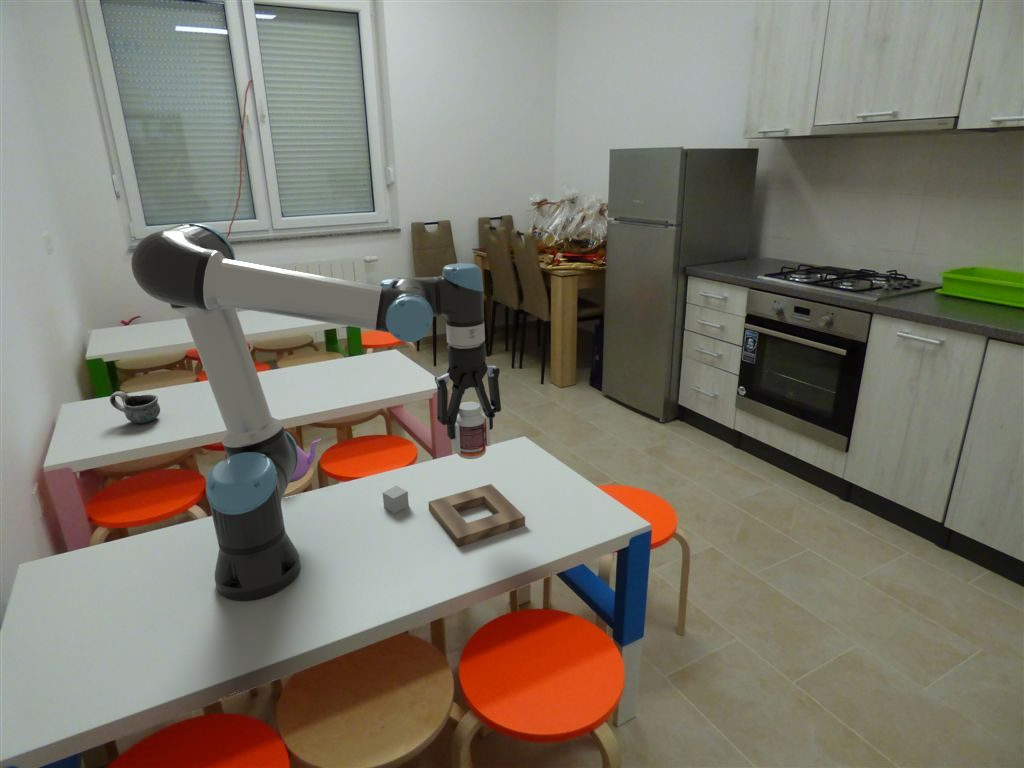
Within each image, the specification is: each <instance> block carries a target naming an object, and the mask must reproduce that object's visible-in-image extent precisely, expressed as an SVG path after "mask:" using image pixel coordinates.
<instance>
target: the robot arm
mask: <svg viewBox="0 0 1024 768" xmlns="http://www.w3.org/2000/svg"><path fill="white" fill-rule="evenodd" d="M130 266H131V270H132V271H131V272H132V274H133V277H134V279H135V281H136V283H137V284H138V286H139V287H140V288H141V289H142V290H143V291H144V292H145V293H146V294H147V295H149V297H152V298H154V299H155V300H158V301H159V302H163V303H167V304H169V305H170V307H171V309H172V310H173V311H175V312H177V313H179V314H181V315H182V316H184V318H185V321H186V324H187V326H188V329H189V332H190V334H191V335H190V336H191V337H192V340H193V343H194V346H195V348H196V350H197V353H198V357H199V359H200V362H201V364H202V367H203V369H204V373H205V375H206V377H207V380H208V382H209V386H210V388H211V391H212V394H213V396H214V398H215V402H216V404H217V406H218V407H217V408H218V409H219V412H220V416H221V419H222V421H223V423H224V426H225V429H226V432H225V434H224V435H223V438H222V440H221V442H222V443H221V444H222V445H223V446H222V447H223V448H224V452H225V454H226V456H227V457H226V459H225V460H220V461H219V462H217V463H216V464H214V465H213V467H212V468H211V469H210V470H209V472H208V473H207V477H206V484H205V485H206V498H207V500H208V503H209V508H210V512H211V516H212V520H213V526H214V529H215V535H216V539H217V544H218V553H217V559H216V565H215V570H214V582H215V586H216V589H217V591H218V593H219V594H220V595H222V596H223V597H224V598H227V599H230V600H234V601H253V600H259V599H262V598H266V597H269V596H271V595H273V594H276V593H278V592H280V591H282V590H283V589H285V588H286V587H288V586H289V585H290V584H291V583H293V582H294V580H295V579H296V578H297V576H298V574H299V573H300V570H301V559H300V555H299V552H298V549H297V548H296V547H295V545H294V543H293V541H292V540H291V538H290V537H289V535H288V534H287V533H288V532H287V531H286V527H285V521H284V515H283V514H284V513H283V509H282V501H283V498H284V495H285V493H286V491H287V488H288V486H289V484H290V483H289V482H290V479H291V477H292V475H293V473H294V471H295V469H296V466H297V462H298V461H297V459H298V448H297V446H298V445H297V442H296V440H295V439H294V437H293V435H291V433H289V432H288V431H286V430H285V427H284V424H283V422H282V421H281V420H280V419H278V418H275V417H273V416H272V414H271V410H270V408H269V404H268V402H267V399H266V395H265V393H264V389H263V387H262V383H261V382H260V378H259V375H258V372H257V369H256V366H255V363H254V360H253V357H252V354H251V351H250V348H249V344H248V341H247V339H246V336H245V333H244V330H243V327H242V325H241V322H240V319H239V315H238V312H237V309H240V310H246V311H252V312H258V313H263V314H271V315H277V316H284V317H291V318H296V319H304V320H309V321H316V322H322V323H328V324H334V325H340V326H347V327H353V328H358V329H364V330H372V331H377V332H383V333H389V334H390V335H391V336H392V337H394V338H395V339H397V340H398V341H400V342H404V343H413V342H417V341H419V340H421V339H423V338H424V337H425V336H426V335H427V334H428V333H429V331H430V329H431V327H432V324H433V320H434V317H441V316H445V327H446V328H445V330H446V343H447V344H448V345H447V346H446V347H447V348H446V349H447V361H448V363H447V364H448V369H447V370H446V373H445V374H443V375H441V376H439V375H435V377H434V381H435V385H436V387H437V389H436V390H437V392H436V393H437V394H436V395H437V398H436V399H437V400H436V401H437V402H436V405H437V406H436V407H437V408H436V415H437V417H436V419H437V421H438V422H439V423H440V424H441V425H443V426H446V434H447V437H448V439H450V440H451V450H453V452H454V453H456V454H457V455H458V454H461V448H460V430H459V425H458V424H457V423H456V419H457V415H458V414H459V413H458V411H459V407H460V404H461V403H462V399H463V395H465V392H466V390H468V389H470V388H473V389H474V390H475V393H476V396H477V398H478V401H479V402H480V403H479V404H480V407H481V409H482V411H483V413H482V414H483V416H484V418H485V439H486V448H487V447H490V446H491V432H490V431H491V430H493V429H494V418H495V417H496V413H500V412H501V411H502V406H501V404H502V403H501V397H500V396H501V394H500V385H499V377H500V372H501V369H500V368H499V367H497V366H496V365H494V364H490V365H487V363H486V355H487V354H486V343H484V342H485V340H486V334H485V333H486V332H485V310H484V309H485V306H484V305H485V304H484V301H485V300H484V290H485V289H484V283H483V282H484V281H483V272H482V269H481V268H480V266H478V265H477V264H474V263H467V262H460V263H450V264H447V265H444V266H443V268H442V273H441V275H438V276H428V277H425V276H424V277H423V276H421V277H396V278H389V279H388V278H387V279H383V280H382V281H381V282H380V284H379V285H375V284H370V283H364V282H359V281H354V280H347V279H343V278H336V277H331V276H330V277H329V276H324V275H319V274H314V273H307V272H302V271H296V270H293V269H292V270H290V269H287V268H286V269H285V268H279V267H274V266H268V265H263V264H256V263H252V262H245V261H240V260H236V254H235V250H234V248H233V246H232V244H231V243H230V240H228V239H227V237H226V236H225V235H224V234H222V233H221V232H220V231H218V230H217V229H216V228H214V227H212V226H209V225H207V224H202V223H201V224H200V223H181V224H178V225H174V226H172V227H170V228H166V229H164V230H159V231H156V232H153V233H151V234H149V235H147V236H145V237H144V238H143V239H141V240H140V241H139V243H137V245H136V247H135V248H134V250H133V253H132V256H131V265H130ZM485 375H486V376H487V382H488V393H489V394H487V392H486V390H485V389H486V388H485V387H486V386H485V385H484V383H483V382H484V381H483V379H484V377H485ZM449 381H452V386H451V394H450V400H449V404H448V399H449V398H448V395H449V393H448V386H449ZM488 395H489V397H488Z"/></svg>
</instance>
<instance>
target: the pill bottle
mask: <svg viewBox="0 0 1024 768" xmlns="http://www.w3.org/2000/svg"><path fill="white" fill-rule="evenodd" d="M481 409H482V407H481V404H480V403H479V402H476V401H464V402H461V403H460V407H459V411H458V415H457V419H456V423H457V424H458V425H459V430H460V448H461V454H457V455H458V456H459V457H460V458H463V459H464V460H476V459H479V458H481V457H483V456H485V455H486V452H487V446H486V439H485V418H484V416H483V413H481V411H482V410H481Z"/></svg>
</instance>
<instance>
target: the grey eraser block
mask: <svg viewBox="0 0 1024 768" xmlns="http://www.w3.org/2000/svg"><path fill="white" fill-rule="evenodd" d="M382 500H383V501H382V502H383V508H384V509H386V510H388V511H390V512H392V513H393V514H397V513H399V512H401V511H403V510H405V509H406V508H408V507H409V505H410V503H409V492H408V490H406V489H404V488H402V487H400V486H398V485H395V486H393V487H391V488H389V489H387V490H385V491H383V492H382Z"/></svg>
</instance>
